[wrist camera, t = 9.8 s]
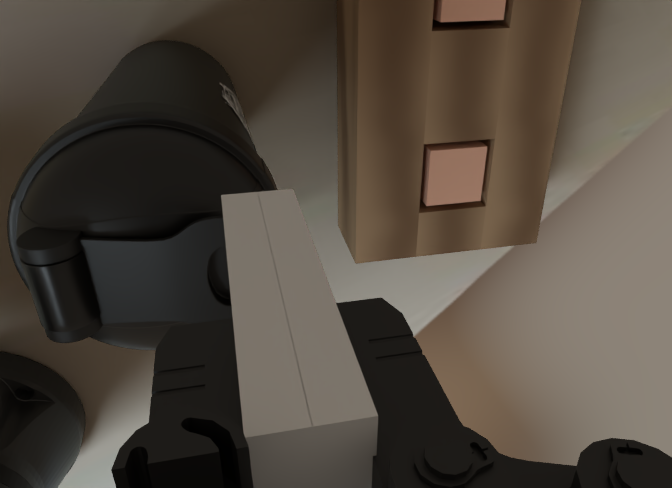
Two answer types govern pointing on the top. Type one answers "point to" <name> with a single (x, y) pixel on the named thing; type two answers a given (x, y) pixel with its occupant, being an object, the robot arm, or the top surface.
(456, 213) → the socket block
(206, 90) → the water bottle
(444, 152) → the peg
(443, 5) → the peg
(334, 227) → the top surface
